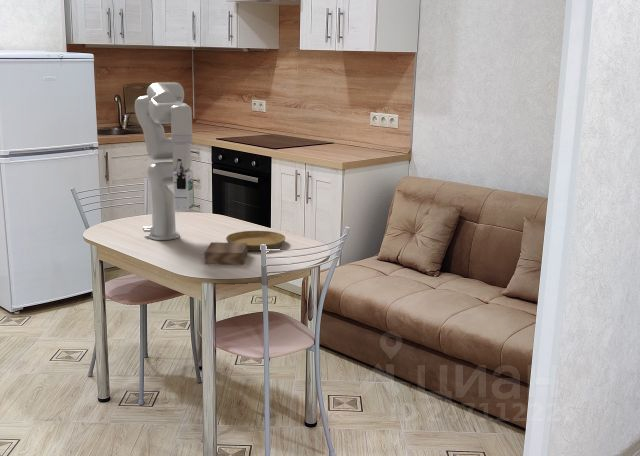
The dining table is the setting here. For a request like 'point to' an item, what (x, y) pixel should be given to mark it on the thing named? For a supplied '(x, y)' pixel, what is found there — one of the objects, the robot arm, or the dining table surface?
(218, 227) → the dining table surface
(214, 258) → the walnut block
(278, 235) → the plant saucer
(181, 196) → the syrup box
